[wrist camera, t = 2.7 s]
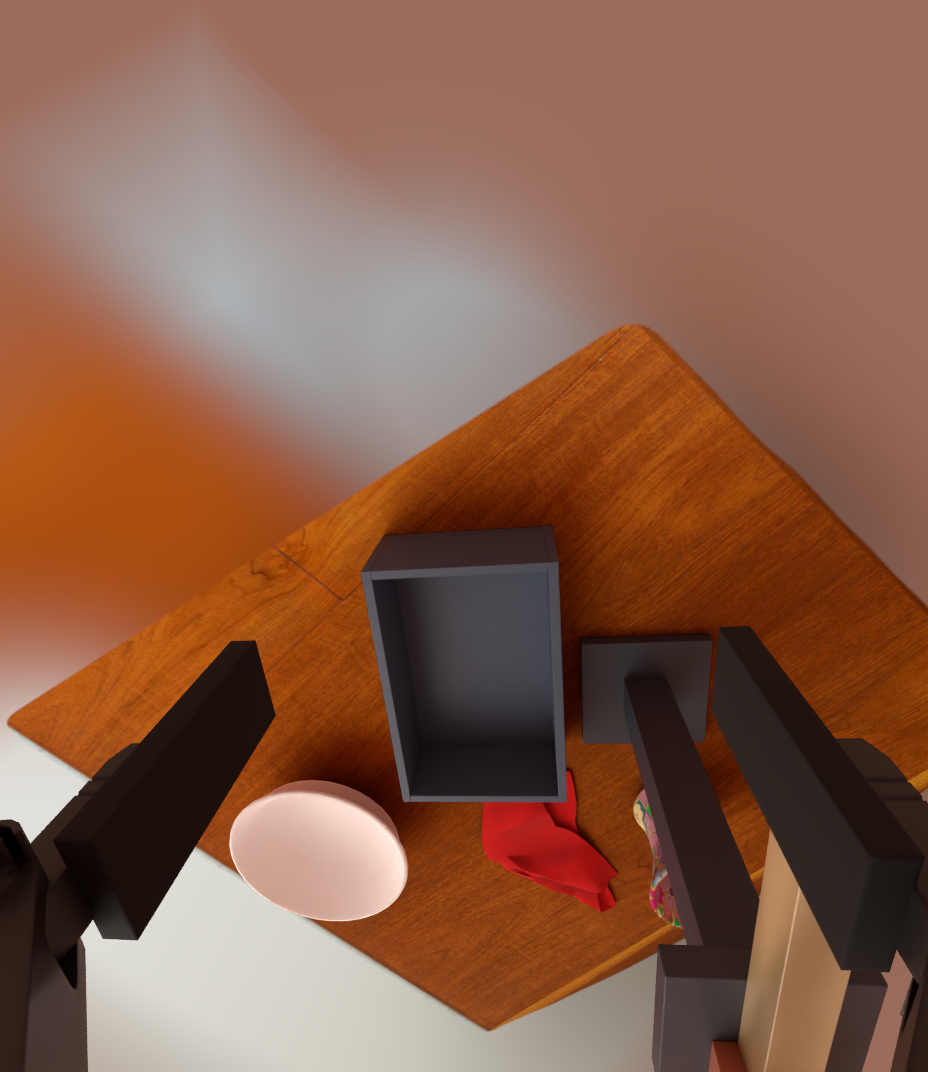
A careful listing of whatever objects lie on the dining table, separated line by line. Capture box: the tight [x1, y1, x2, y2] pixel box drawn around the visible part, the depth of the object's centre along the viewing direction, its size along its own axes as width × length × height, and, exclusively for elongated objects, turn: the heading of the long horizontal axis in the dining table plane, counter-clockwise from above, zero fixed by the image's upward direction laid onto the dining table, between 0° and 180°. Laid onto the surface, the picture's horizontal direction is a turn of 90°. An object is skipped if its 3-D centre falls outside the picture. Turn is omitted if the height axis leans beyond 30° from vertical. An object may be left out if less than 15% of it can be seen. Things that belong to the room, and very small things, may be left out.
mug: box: [634, 789, 755, 929], centre depth 53 cm, size 12×9×11 cm
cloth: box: [482, 770, 618, 912], centre depth 61 cm, size 26×14×2 cm, turn 22°
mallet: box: [708, 829, 851, 1072], centre depth 23 cm, size 5×22×4 cm, turn 6°
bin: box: [361, 526, 567, 802], centre depth 50 cm, size 16×25×8 cm, turn 6°
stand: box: [580, 634, 888, 1072], centre depth 40 cm, size 12×12×28 cm
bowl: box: [229, 780, 408, 921], centre depth 61 cm, size 20×20×6 cm
